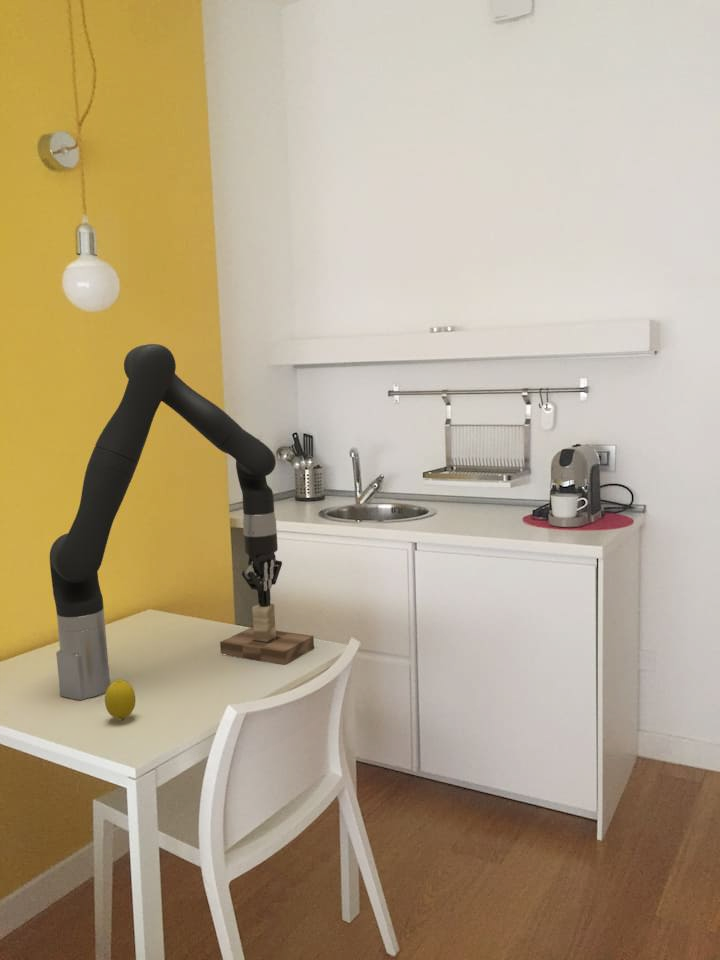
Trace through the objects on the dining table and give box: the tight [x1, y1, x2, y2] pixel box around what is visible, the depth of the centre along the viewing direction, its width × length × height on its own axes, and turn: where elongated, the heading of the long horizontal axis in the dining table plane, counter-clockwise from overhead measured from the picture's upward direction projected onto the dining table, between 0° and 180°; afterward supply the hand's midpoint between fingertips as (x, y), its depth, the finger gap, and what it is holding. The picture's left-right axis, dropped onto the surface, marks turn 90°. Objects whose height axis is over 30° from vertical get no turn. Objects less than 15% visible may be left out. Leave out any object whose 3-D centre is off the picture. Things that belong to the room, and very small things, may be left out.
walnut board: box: [219, 626, 315, 666], centre depth 192 cm, size 12×18×3 cm, turn 61°
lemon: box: [104, 678, 136, 721], centre depth 157 cm, size 6×6×8 cm
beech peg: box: [251, 603, 277, 643], centre depth 192 cm, size 4×4×11 cm
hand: (264, 605), depth 191 cm, fingers closed
